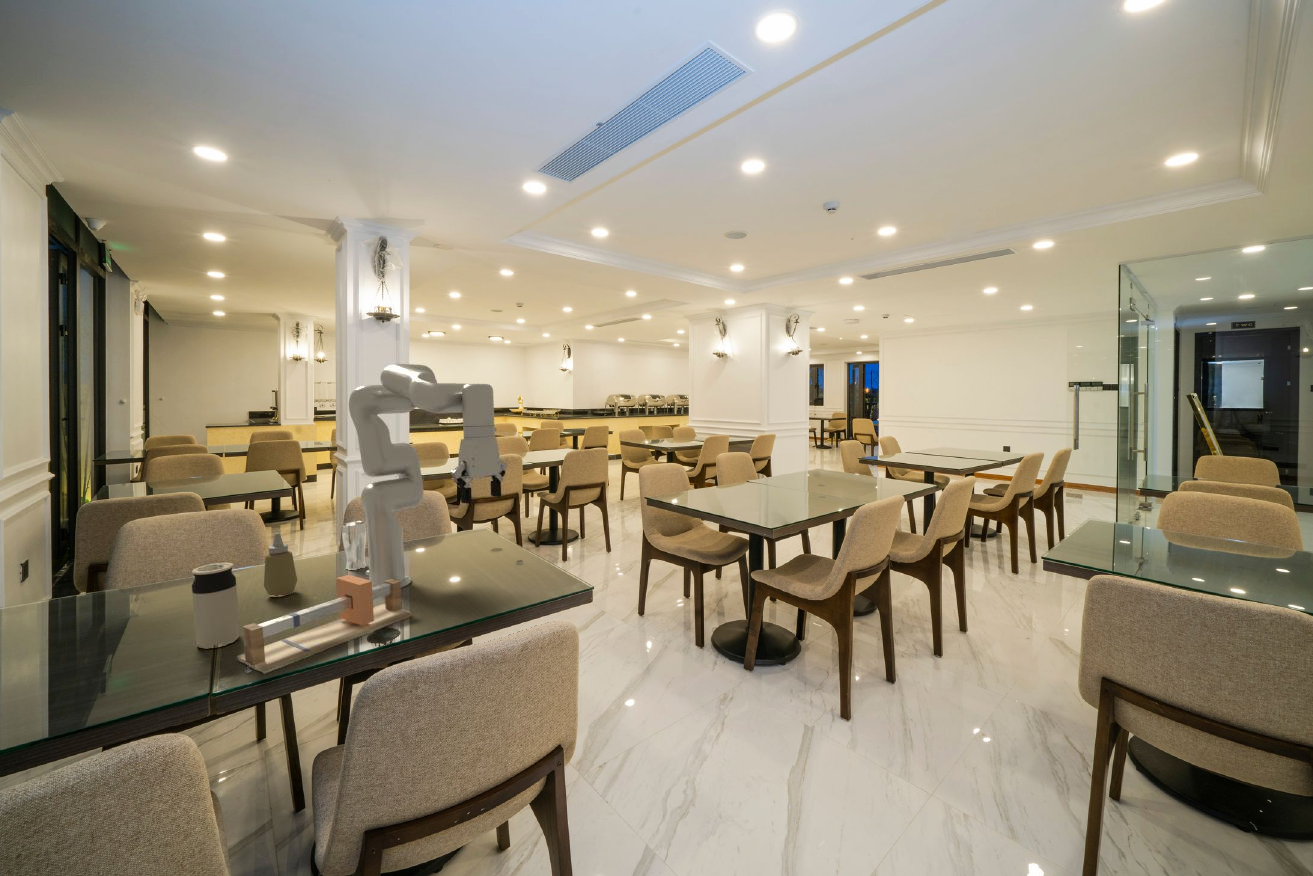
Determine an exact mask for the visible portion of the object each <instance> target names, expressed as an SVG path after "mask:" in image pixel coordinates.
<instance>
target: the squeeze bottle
mask: <svg viewBox="0 0 1313 876" xmlns="http://www.w3.org/2000/svg"><path fill="white" fill-rule="evenodd" d="M272 542H273V543H272V545H270V546H269V547H268V549H267V550H268V554H266V556H264V557H265V558H264V571H263V572H264V573H263V574H264V575H263V576H264V578H263V588H264V589H265V591H266V593H267V595H268V594H269V595H275V596H278V595H286V594H290V593H292V592H293V591H295V589H296V585H297V582H298V576H297V572H296V567H295V561H294V556H293V552H292V551H290V550H289V545H288V544H286V543H284V542H283V539H282V535H281V533H280V532H276V533H274V536H273V541H272ZM293 593H294V592H293ZM293 593H292V594H293ZM269 595H268V596H269ZM290 595H291V594H290Z"/></svg>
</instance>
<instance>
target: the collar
mask: <svg viewBox="0 0 1313 876" xmlns="http://www.w3.org/2000/svg"><path fill="white" fill-rule="evenodd" d="M335 582H336V592H337V594H336V595H337V599H338V598H341V597H344V596H347V595H350V596H352V598H353V607H351V608H348V609H345V610H342V611H340V612H337V613H338V618H339V619H345V620H348V621H351V622H354V623H356V624H359V625H365V624H367V623H370V622H373V621H374V612H373V607H374V601H373V595H372V581H369V579H366V578H362V577H359V576H358V577H357V576H354V575H351V574H347V575H342V576H338V577H336V581H335Z"/></svg>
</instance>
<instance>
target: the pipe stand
mask: <svg viewBox="0 0 1313 876" xmlns="http://www.w3.org/2000/svg"><path fill="white" fill-rule="evenodd" d="M372 595H373V600H378V599H379V598H383V597H384V603H380V604H378V605H376V606H373V612H374V621H373V622H370V623H367V624H365V625H359V624H356V623H354V622H351V621H348V620H345V619H342V618H339V619H336V620H333V621H331V622H327V623H325V624H323V625H320V626H317V627H314V628H312V629H308V630H305V631H303V632H300V633H297V634H294V635H292V636H288V637H286V638H283V639H280V640H278V641H275V642H272V643H269V644H267V645H265V643H264V638H268V637H270V636H273V635H275V634H276V635H277V634H279V633H282V632H284V631H287V630H290V629H293V628H294V629H295V628H298V627H300V626H301V625H305V624H308V623H310V622H313V621H315V620H319V619H322V618H324V617H328V616H331V615H333V614H336V613H338V612H340V611H342V610H345V609H348V608H351V607H353V598H352V596H350V595H347V596H344V597H341V598H338V597H337V598H335V599H332V600H329V601H326V602H322V603H320V604H316V605H314V606H310V607H308V608H305V609H301V610H298V611H295V612H290V613H287V614H285V615H282V616H279V617H277V618H273V619H271V620H267V621H264V622H261V623H258V624H257V623H255V622H253V623H250V624H245V625H243V626H242V633H243V645H244V646H243V647H244V653H242V654H238V655H236V658H237V657H238V658H239V659H241V660H244V661H245V662H248V663H250V664H251V665H253V666H255V667H256V668H258V669H260V670H262V671H267V670H269V669H272V668H275V667H277V666H281V665H285V664H286V663H290V662H293V661H296V660H299V659H302V660H304V659H305V658H304V657H306V656H309V655H312V654H315V653H317V652H319V651H322V652H324V651H323V650H324V649H327V648H330V647H332V646H335V645H337V646H339V645H338V644H340V643H342V644H344V643H343V642H345V643H347V642H349V641H348V640H350V641H352V640H355V639H357V638H359V637H363V636H365V635H367V634H369V633H372V632H374V631H377V630H379V629H382V628H385V627H387V626H389V625H392V624H395V623H398V622H399V621H403V620H405V619H407V618H408V619H409V618H410V617H412V612H411V611H409V610H406V609H403V605H402V602H403V601H402V588H401V583H400V581H397V580H393V579H389V580H386V581H384V584H381V585H378V586H375V587H372ZM351 639H352V640H351ZM340 645H341V644H340ZM335 647H336V646H335ZM332 648H333V647H332ZM330 649H331V648H330ZM327 650H328V649H327ZM317 654H318V653H317ZM315 655H316V654H315ZM312 656H313V655H312ZM309 657H310V656H309ZM303 658H304V659H303ZM299 661H300V660H299Z"/></svg>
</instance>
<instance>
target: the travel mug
mask: <svg viewBox="0 0 1313 876" xmlns="http://www.w3.org/2000/svg"><path fill="white" fill-rule="evenodd" d="M233 568H234V563H233V562H214V563H211V564H210V563H209V564H205V565H201V566H199V567H195V568H193V569H192V571H191V573H192V574H193V577H194V580H193V582H192V584H191V594H192V605H193V618H194V627H195V639H196V640H195V641H196V646H197V645H201V646H212V645H219V644H221V643H226V642H229V641H230V640H234V639H236V638H237V637H239V636H240V637H241V625H240V614H239V602H238V601H239V600H238V590H237V589H238V588H237V587H238V586H237V578H236V576H235V575H234V573H233V572H232V571H233Z"/></svg>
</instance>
